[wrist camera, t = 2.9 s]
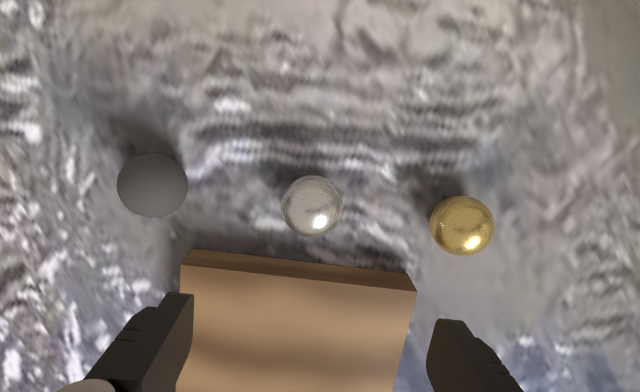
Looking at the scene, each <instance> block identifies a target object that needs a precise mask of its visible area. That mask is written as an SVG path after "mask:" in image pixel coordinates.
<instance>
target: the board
mask: <svg viewBox="0 0 640 392" xmlns="http://www.w3.org/2000/svg"><path fill="white" fill-rule="evenodd" d="M180 293H187V294H193V295H194V320H193V338H192V344H191V349H190V352H189V355H188V358H187V360H186V362H185V364H184V367H183V369H182V371H181V373H180V375H179V378H178V380H177V382H176V392H392V389H393V385H394V381H395V377H396V373H397V370H398V366H399V362H400V358H401V354H402V350H403V346H404V342H405V338H406V334H407V331H408V327H409V323H410V319H411V315H412V311H413V307H414V303H415V299H416V295H417V290H416V288H415V287H414V285H413V283H412V281H411V279H410V277H409V276H408V274H405V273H397V272H388V271H380V270H371V269H363V268H355V267H346V266H338V265H329V264H321V263H312V262H304V261H296V260H287V259H279V258H270V257H262V256H254V255H245V254H237V253H228V252H220V251H212V250H203V249H195V248H193V249H192V250H191V251H190V253H189V254H188V255H187V257H186V258H185V259H184V261H183V262H182V263H181V268H180Z"/></svg>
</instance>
